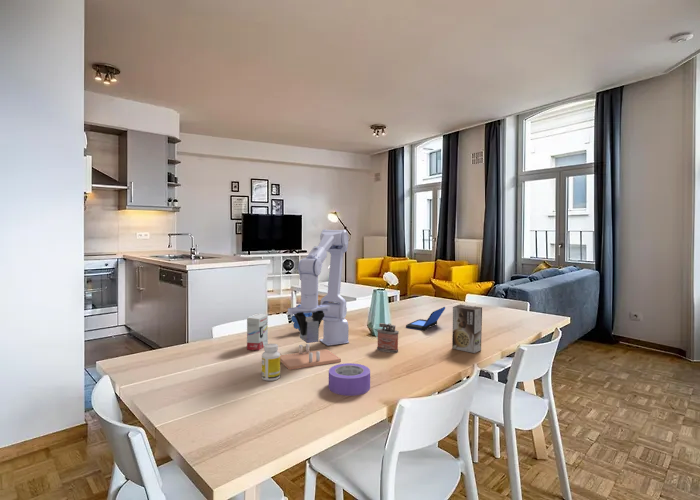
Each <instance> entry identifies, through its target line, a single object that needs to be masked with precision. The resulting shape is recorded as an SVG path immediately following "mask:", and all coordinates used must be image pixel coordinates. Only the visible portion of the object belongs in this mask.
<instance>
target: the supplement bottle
mask: <svg viewBox="0 0 700 500" xmlns="http://www.w3.org/2000/svg"><path fill="white" fill-rule="evenodd" d="M278 349H279V345H278V344H277V343H268V344H266V345H264V347H263V351H264V352H263V353H261V379H262V380H263V381H268V382H269V381H270V382H271V381H272V382H273V381H276V380H279V379H280V378H281V361H280V355H281V353H280V352H279V351H278Z"/></svg>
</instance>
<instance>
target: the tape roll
mask: <svg viewBox="0 0 700 500" xmlns="http://www.w3.org/2000/svg"><path fill="white" fill-rule="evenodd" d="M328 390H329V391H331V393H333V394H336V395H339V396H349V397H350V396H351V397H352V396H360V395H363V394H366V393H368V392H369V391H370V390H371V369H370V368H369V367H368V366H366V365H364V364H360V363H354V362H351V363H350V362H346V363H339V364H336V365H333V366H331V367H330V368H329V369H328Z"/></svg>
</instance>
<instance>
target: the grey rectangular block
mask: <svg viewBox="0 0 700 500" xmlns="http://www.w3.org/2000/svg"><path fill="white" fill-rule="evenodd" d="M319 331H320V326H319V321H318V320H316V319H314V318H313V316H311V317H306V320H305V335H304V336H303V335H301V332H300V331H299V339H301V340H302V341H303V342H305V343H306V344H312V343H318V342H320V339H319V338H320V337H319V334H320V333H319Z"/></svg>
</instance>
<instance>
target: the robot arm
mask: <svg viewBox="0 0 700 500" xmlns="http://www.w3.org/2000/svg"><path fill="white" fill-rule="evenodd" d="M319 240H320V241H319V242H318V245H317V246H313V247H312V249H311V250H310V252H309V253H308V254H307V256H306V257H303V258H301V259H300V260H299V261H298V266H297V271H298V274H299V281H300V305H301V306H299V307H297V306H295V307H287V315H289V316H293V315H295V317H296V319H297V322H298V324H299V328H300V331H299V333H300V332H301V335H303V336H304V335H305V320H306V316H304V313H312V318H314V319H316V320H318V321H319V327H320V326H321V323H322V321H323V330H322V331H323V335H322V337H323V338H320V339H319V342H321V343H322V344H324V345H325V346H327V347H328V346H335V345H342V344H349V343H350V341H349V323H348V320H347V319H346V317H347V310H348V308H347V300H346V298H344V297H343V296H342V295H341V286H342V274H343V273H342V272H343V261H344V254H345V253H346V252H348V247H349V233H348V231H347V230H346V229H322V231H321V232H320V238H319ZM328 253H329V254H330V262H329V274H328V284H327V285H328V286H327V293H326V295H325V296H323V297H321V298H320V304H319V276H320V275H321V272H322V267H323V263H324V262H325V260H326V258H327V256H328Z"/></svg>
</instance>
